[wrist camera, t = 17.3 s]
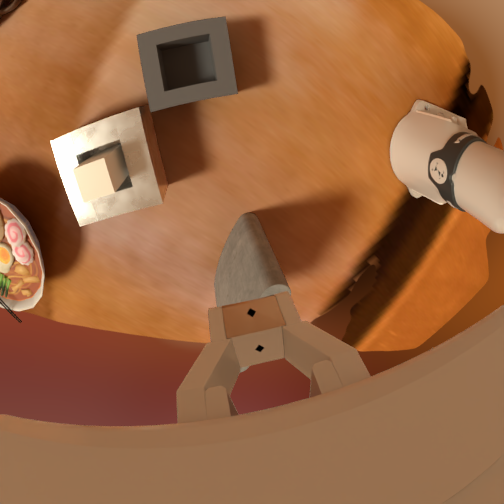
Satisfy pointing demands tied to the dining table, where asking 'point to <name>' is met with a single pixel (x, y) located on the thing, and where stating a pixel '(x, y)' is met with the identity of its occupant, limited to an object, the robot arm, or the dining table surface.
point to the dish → (1, 7)
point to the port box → (136, 156)
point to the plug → (101, 173)
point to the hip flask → (247, 266)
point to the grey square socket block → (187, 63)
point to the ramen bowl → (19, 261)
